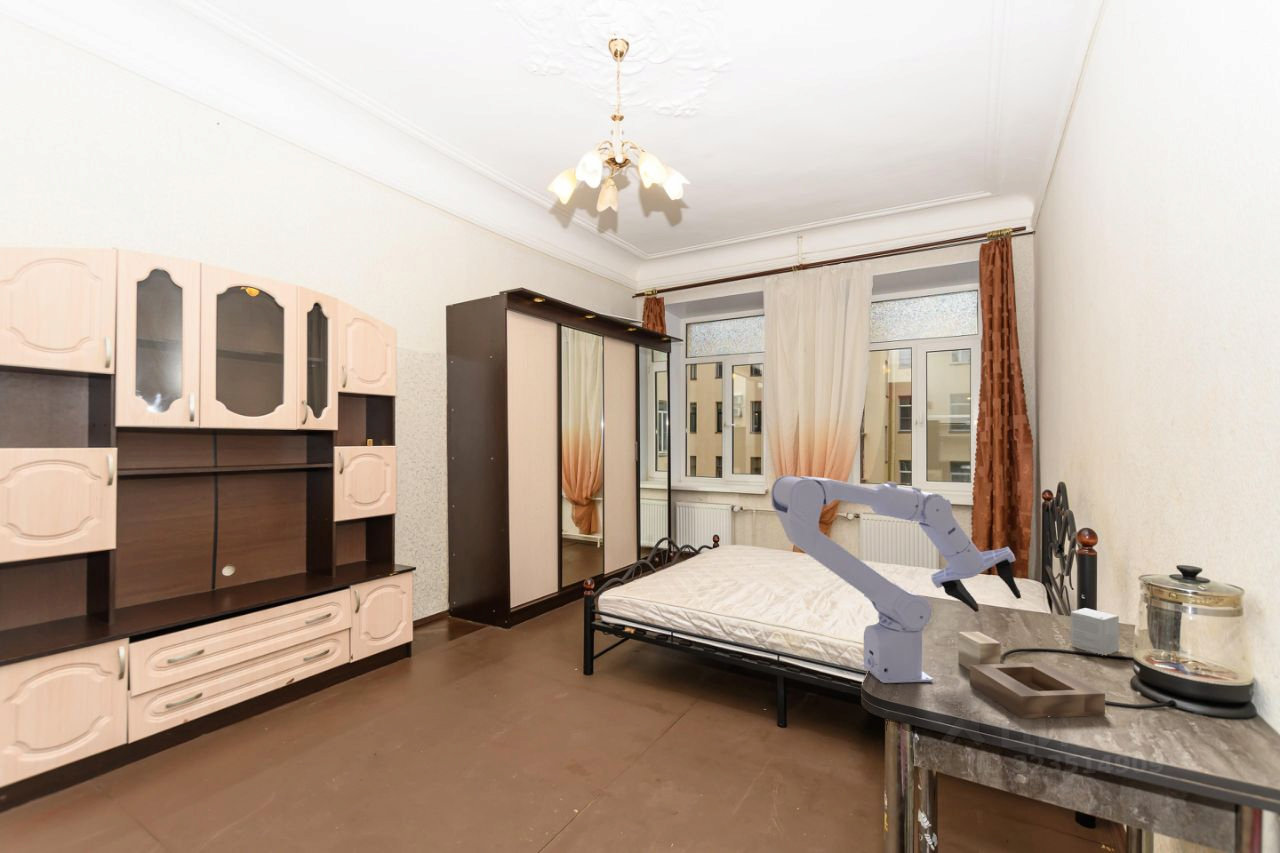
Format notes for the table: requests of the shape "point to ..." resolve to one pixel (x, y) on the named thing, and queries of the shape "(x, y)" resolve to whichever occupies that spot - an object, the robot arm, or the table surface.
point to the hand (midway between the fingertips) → (997, 601)
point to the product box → (1095, 631)
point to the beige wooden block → (977, 649)
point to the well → (1037, 690)
